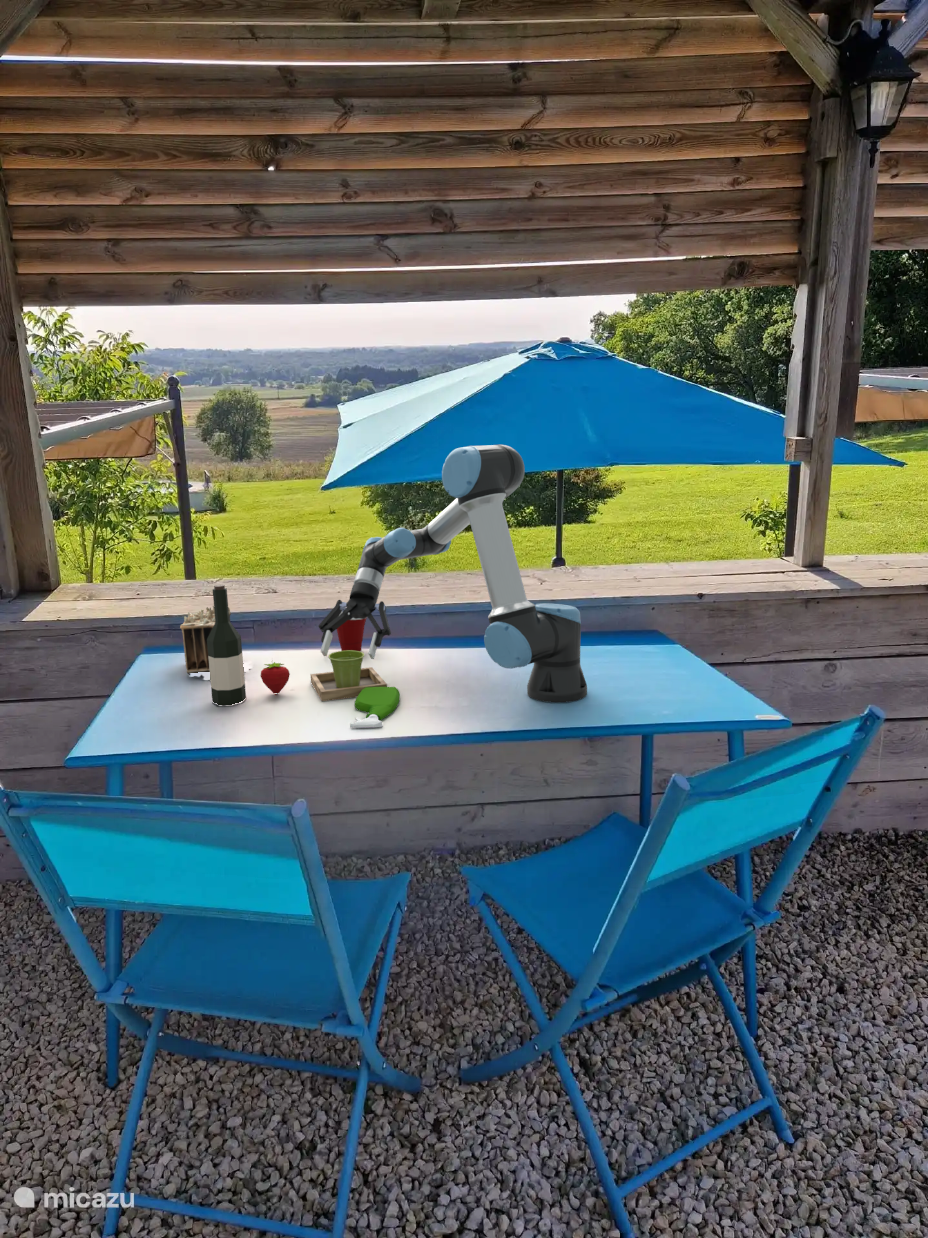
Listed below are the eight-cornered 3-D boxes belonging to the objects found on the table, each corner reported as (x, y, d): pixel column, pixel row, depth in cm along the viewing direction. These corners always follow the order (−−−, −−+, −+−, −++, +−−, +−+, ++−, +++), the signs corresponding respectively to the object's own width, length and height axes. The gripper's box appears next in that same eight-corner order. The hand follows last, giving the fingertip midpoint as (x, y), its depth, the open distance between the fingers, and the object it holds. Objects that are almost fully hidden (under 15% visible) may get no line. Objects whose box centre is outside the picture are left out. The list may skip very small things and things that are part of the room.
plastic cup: (374, 654, 268) (372, 615, 265) (339, 658, 264) (336, 619, 261) (364, 645, 278) (362, 608, 275) (330, 649, 274) (328, 611, 271)
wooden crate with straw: (150, 669, 258) (144, 606, 253) (228, 652, 274) (224, 593, 269) (190, 689, 240) (184, 622, 235) (271, 670, 256) (267, 606, 252)
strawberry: (288, 697, 228) (285, 660, 226) (259, 698, 228) (256, 660, 226) (293, 690, 234) (290, 654, 232) (264, 691, 234) (262, 654, 232)
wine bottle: (211, 698, 229) (200, 584, 222) (244, 694, 232) (234, 581, 225) (214, 708, 221) (203, 590, 214) (248, 703, 224) (238, 586, 217)
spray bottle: (402, 697, 228) (391, 732, 204) (360, 697, 228) (343, 732, 204) (401, 686, 227) (390, 719, 203) (359, 686, 228) (343, 720, 204)
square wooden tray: (387, 693, 230) (386, 684, 229) (321, 701, 224) (321, 691, 224) (372, 675, 245) (372, 667, 245) (310, 683, 240) (310, 674, 240)
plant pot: (369, 681, 239) (367, 650, 237) (361, 692, 230) (360, 659, 228) (335, 681, 240) (333, 650, 238) (326, 691, 231) (324, 659, 229)
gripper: (412, 597, 244) (395, 664, 234) (329, 594, 251) (309, 659, 241) (404, 581, 238) (386, 650, 228) (320, 579, 245) (298, 645, 235)
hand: (347, 655), depth 234 cm, fingers open, 13 cm apart
